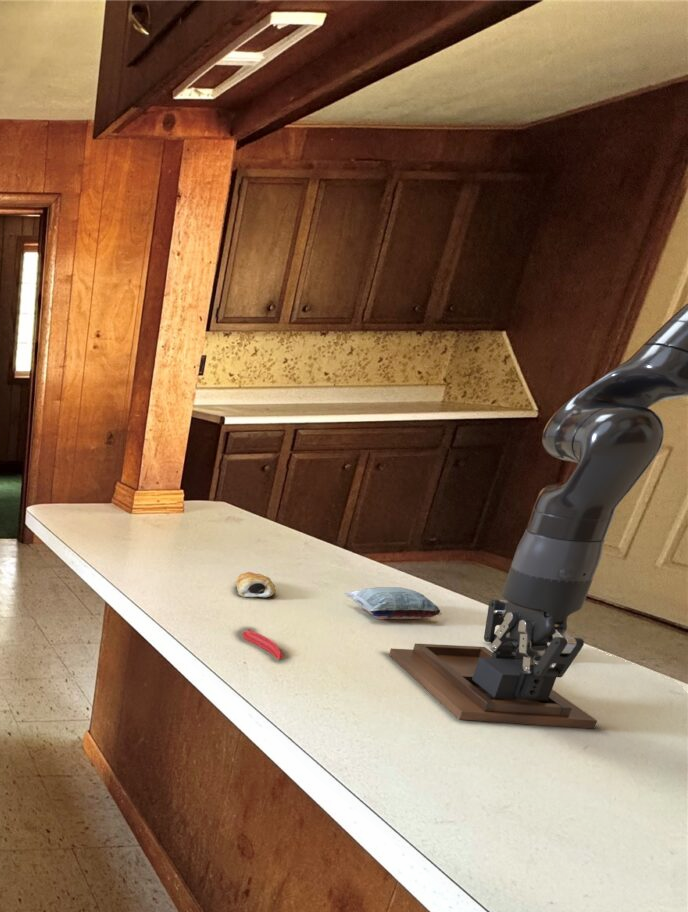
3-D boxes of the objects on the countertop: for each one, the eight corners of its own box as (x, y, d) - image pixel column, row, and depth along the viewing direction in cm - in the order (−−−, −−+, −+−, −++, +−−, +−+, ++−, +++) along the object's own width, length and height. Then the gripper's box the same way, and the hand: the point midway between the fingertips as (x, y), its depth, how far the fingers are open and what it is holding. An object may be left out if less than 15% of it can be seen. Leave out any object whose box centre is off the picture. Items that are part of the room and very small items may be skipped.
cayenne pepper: (236, 630, 115) (238, 620, 115) (265, 632, 114) (267, 622, 114) (255, 661, 105) (257, 650, 104) (287, 663, 104) (290, 652, 103)
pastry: (231, 581, 136) (234, 563, 135) (267, 584, 134) (271, 566, 133) (237, 597, 128) (240, 578, 127) (276, 600, 126) (280, 582, 125)
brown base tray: (498, 660, 101) (504, 646, 100) (594, 728, 84) (601, 712, 83) (388, 655, 104) (392, 640, 103) (459, 719, 87) (464, 703, 86)
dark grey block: (521, 682, 90) (530, 659, 89) (547, 701, 86) (556, 677, 85) (471, 679, 92) (478, 657, 90) (494, 697, 87) (502, 674, 86)
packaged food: (341, 604, 123) (347, 580, 121) (410, 605, 122) (417, 580, 120) (367, 624, 115) (374, 598, 113) (441, 625, 114) (449, 599, 112)
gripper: (635, 590, 75) (582, 718, 81) (546, 551, 88) (507, 664, 94) (558, 587, 77) (511, 713, 83) (481, 550, 90) (447, 661, 96)
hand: (509, 687), depth 89 cm, fingers closed on dark grey block, 5 cm apart
